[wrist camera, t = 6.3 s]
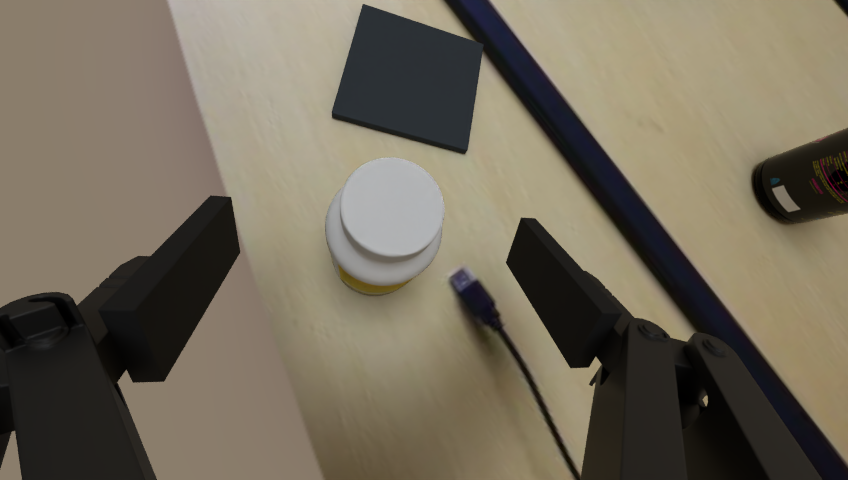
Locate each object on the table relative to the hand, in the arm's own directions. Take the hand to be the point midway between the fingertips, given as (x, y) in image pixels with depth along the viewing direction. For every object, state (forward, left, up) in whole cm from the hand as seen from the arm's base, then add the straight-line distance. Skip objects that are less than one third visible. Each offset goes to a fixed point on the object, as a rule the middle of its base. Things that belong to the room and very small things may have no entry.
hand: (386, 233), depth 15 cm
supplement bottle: (0, 0, -7) cm, 7 cm away
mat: (0, +14, -6) cm, 16 cm away
